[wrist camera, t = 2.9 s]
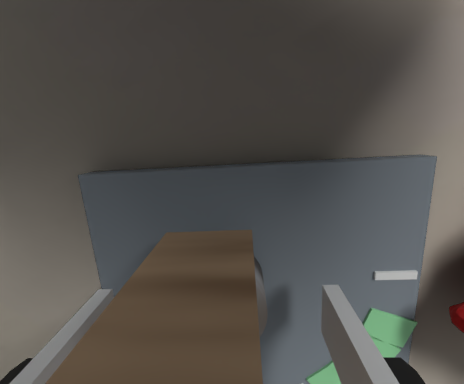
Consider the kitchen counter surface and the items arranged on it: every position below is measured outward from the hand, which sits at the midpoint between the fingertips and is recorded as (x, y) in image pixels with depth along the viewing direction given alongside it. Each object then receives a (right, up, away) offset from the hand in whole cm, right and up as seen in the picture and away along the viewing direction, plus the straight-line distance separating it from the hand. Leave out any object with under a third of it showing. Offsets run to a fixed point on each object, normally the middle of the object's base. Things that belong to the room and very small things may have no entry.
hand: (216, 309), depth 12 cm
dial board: (+2, -3, +5) cm, 6 cm away
